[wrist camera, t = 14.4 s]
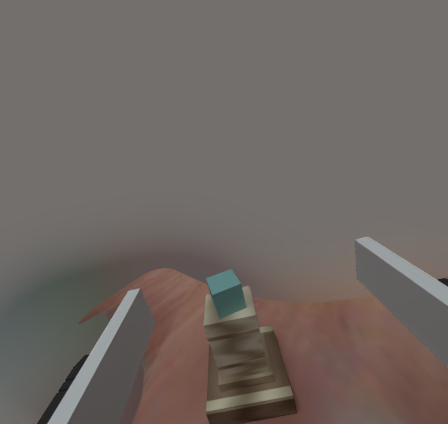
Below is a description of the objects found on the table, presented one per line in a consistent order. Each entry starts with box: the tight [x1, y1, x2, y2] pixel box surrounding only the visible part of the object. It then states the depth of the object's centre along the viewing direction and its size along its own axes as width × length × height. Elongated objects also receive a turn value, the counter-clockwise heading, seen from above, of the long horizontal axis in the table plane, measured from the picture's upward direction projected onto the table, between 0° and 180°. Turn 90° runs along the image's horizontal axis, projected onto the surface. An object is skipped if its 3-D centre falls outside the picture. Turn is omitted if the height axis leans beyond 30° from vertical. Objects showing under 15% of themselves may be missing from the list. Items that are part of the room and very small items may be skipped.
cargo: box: [206, 269, 247, 319], centre depth 30 cm, size 4×4×4 cm
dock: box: [206, 325, 296, 424], centre depth 35 cm, size 12×12×3 cm
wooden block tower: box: [204, 286, 275, 392], centre depth 32 cm, size 8×7×12 cm
